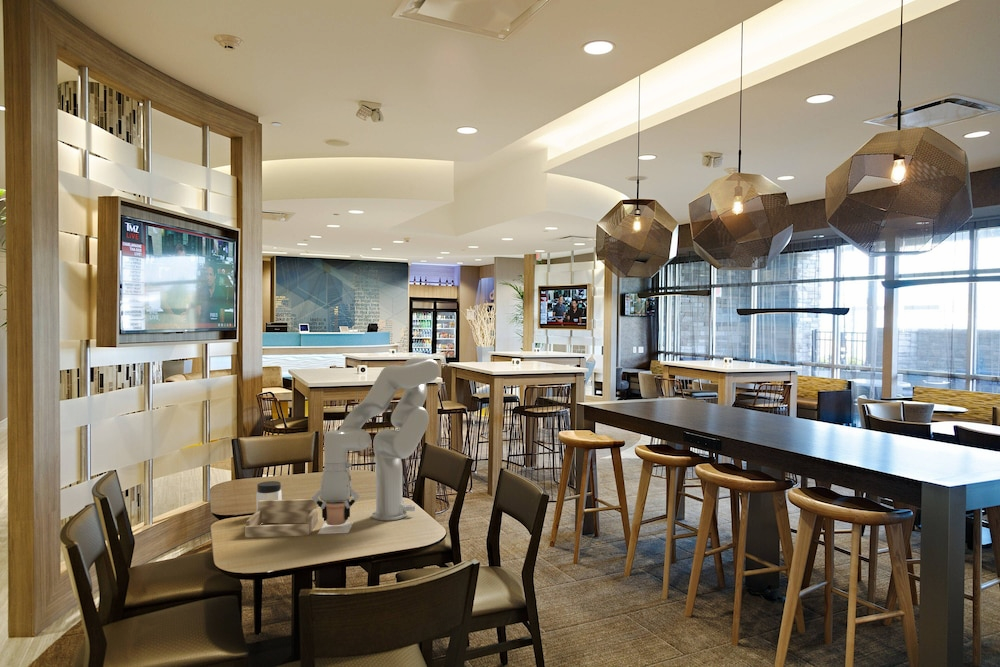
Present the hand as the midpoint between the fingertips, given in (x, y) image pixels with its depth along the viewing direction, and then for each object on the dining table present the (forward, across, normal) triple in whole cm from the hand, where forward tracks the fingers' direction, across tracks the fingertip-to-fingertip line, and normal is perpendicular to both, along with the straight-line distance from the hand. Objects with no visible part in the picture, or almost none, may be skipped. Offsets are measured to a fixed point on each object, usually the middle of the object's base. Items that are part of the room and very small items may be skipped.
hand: (336, 519), depth 224 cm
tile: (+3, 0, 0) cm, 3 cm away
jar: (+3, +27, -18) cm, 33 cm away
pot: (+1, 0, 0) cm, 1 cm away
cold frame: (+3, +18, -1) cm, 18 cm away
